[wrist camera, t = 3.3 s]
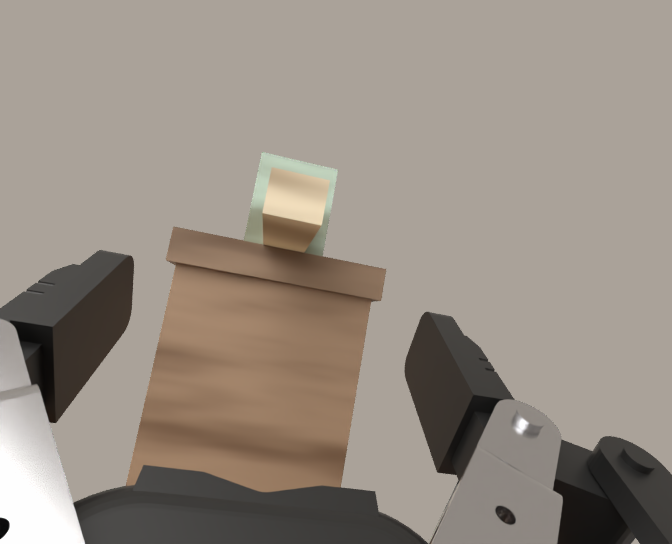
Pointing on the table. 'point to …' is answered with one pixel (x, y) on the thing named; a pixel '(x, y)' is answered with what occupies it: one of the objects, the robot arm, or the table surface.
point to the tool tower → (256, 363)
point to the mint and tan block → (291, 204)
